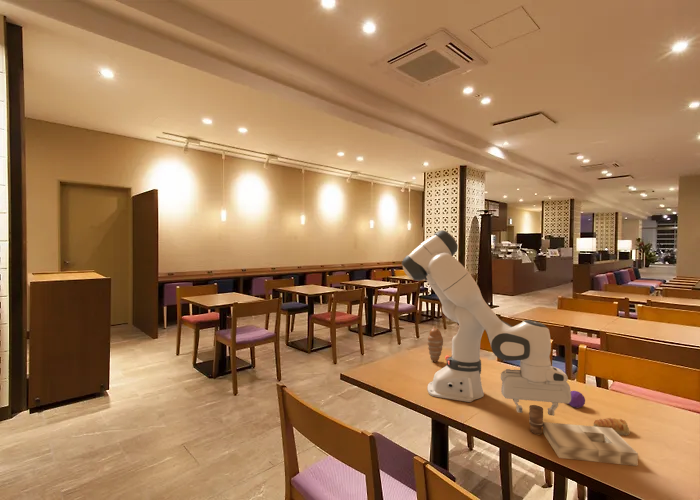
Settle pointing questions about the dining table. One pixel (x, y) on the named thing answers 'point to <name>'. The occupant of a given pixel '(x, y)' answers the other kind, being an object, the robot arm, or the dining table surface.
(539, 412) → the peg
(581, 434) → the seat board
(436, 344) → the brown ribbed tapered oval
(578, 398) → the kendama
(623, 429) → the pastry
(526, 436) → the dining table surface
